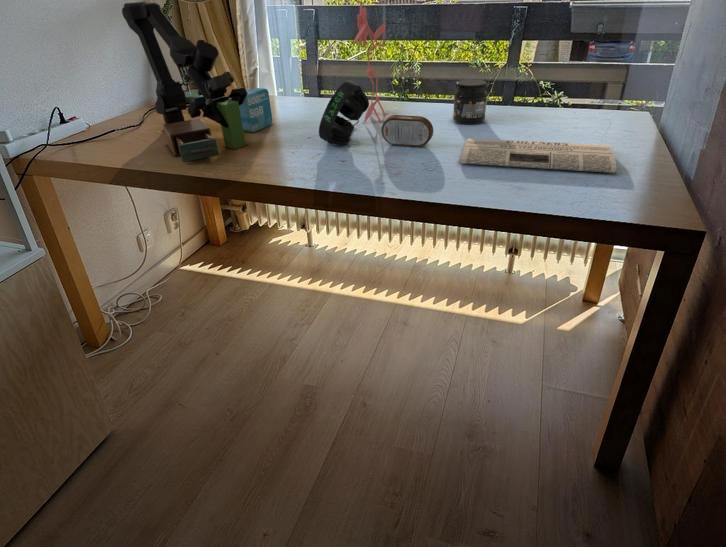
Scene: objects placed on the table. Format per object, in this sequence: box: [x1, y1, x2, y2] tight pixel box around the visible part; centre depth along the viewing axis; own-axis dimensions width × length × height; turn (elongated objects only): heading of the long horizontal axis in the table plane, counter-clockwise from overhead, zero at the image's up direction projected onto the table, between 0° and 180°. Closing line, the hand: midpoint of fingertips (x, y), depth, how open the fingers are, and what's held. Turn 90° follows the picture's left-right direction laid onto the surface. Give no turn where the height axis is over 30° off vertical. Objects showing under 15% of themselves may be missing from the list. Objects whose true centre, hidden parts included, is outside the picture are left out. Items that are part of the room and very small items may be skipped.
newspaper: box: [459, 137, 617, 174], centre depth 129 cm, size 37×19×3 cm, turn 73°
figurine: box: [352, 3, 387, 123], centre depth 162 cm, size 15×26×35 cm, turn 168°
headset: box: [318, 79, 370, 147], centre depth 146 cm, size 18×14×29 cm
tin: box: [380, 114, 434, 148], centre depth 141 cm, size 15×3×8 cm, turn 71°
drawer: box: [174, 131, 220, 163], centre depth 141 cm, size 16×10×5 cm, turn 28°
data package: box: [239, 87, 273, 133], centre depth 163 cm, size 12×4×12 cm, turn 152°
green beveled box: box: [217, 100, 247, 150], centre depth 147 cm, size 4×4×13 cm
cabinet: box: [162, 117, 212, 157], centre depth 150 cm, size 13×11×6 cm
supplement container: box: [452, 79, 488, 125], centre depth 159 cm, size 10×10×12 cm
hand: (234, 125), depth 146 cm, fingers closed on green beveled box, 4 cm apart
